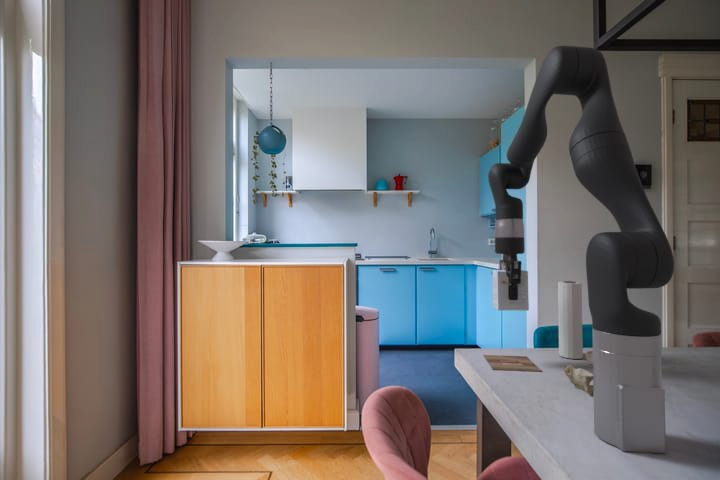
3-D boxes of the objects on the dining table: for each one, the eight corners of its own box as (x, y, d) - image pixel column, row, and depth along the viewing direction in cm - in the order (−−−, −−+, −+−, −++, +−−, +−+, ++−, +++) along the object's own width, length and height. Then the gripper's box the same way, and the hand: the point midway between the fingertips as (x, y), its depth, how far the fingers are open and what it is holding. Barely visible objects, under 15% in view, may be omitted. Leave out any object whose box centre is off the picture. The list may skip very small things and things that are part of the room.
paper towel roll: (573, 360, 108) (572, 282, 108) (554, 355, 113) (553, 281, 114) (590, 357, 111) (589, 281, 112) (570, 352, 116) (569, 280, 117)
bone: (561, 386, 83) (566, 341, 87) (562, 393, 88) (567, 350, 92) (609, 397, 78) (611, 349, 83) (608, 404, 83) (610, 358, 87)
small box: (522, 308, 108) (521, 269, 109) (529, 311, 103) (528, 270, 103) (492, 307, 109) (492, 269, 109) (497, 310, 104) (497, 270, 104)
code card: (542, 371, 98) (542, 371, 98) (492, 369, 100) (492, 369, 100) (526, 356, 112) (526, 356, 112) (483, 355, 113) (483, 354, 113)
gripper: (531, 235, 99) (532, 302, 98) (516, 237, 113) (517, 296, 113) (501, 235, 100) (501, 301, 99) (489, 237, 114) (490, 295, 114)
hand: (510, 298), depth 106 cm, fingers closed on small box, 5 cm apart
